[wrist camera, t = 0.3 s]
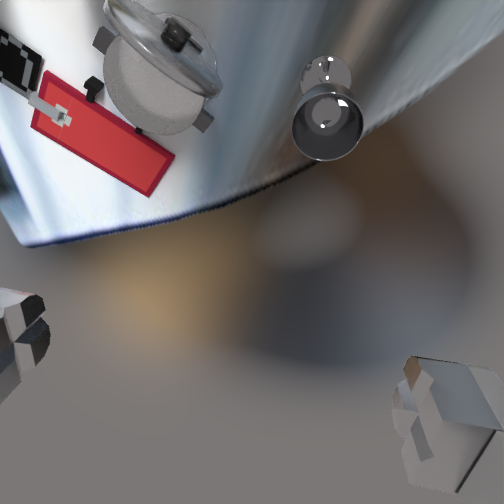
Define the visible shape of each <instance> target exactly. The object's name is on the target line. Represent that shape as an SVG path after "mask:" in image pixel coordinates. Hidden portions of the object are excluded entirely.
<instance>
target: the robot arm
mask: <svg viewBox="0 0 504 504" xmlns="http://www.w3.org/2000/svg"><path fill="white" fill-rule="evenodd" d="M45 311H46V309H45V305H44V301H43V298H42V297H40V296H38V295H37V294H32V293H27V292H21V291H16V290H11V289H5V288H0V404H1V403H2V402H3V401H4V400H5V399H6V398H7V397H8V396H9V395H10V394H11V392H12V391H13V390H14V389H15V388H16V387H17V386H18V385H19V384H20V383H21V378H22V373H23V372H25V371H27V370H29V369H31V368H33V367H35V366H36V365H37V364H38V363H39V362H40V361H41V359H42V358H43V357H44V356H45V354H46V351H47V349H48V347H49V345H50V337H51V334H50V328H49V325H48V324H47V323H46V322H45V321H44V320H43V319H42V317H41V316H42V315H43V313H44V312H45ZM403 370H404V373H405V376H406V380H404V381H402V382H401V383H399V384H397V386H396V389H395V392H394V395H393V402H392V415H393V422H394V426H395V430H396V432H397V433H398V434H399V435H400V436H401V437H402V438H403V439H404V441H405V443H404V445H403V447H402V449H401V454H402V458H403V461H404V465H405V469H406V472H407V476H408V480H409V484H410V485H414V486H419V487H424V488H429V489H433V490H437V491H442V492H447V493H451V494H456V498H457V499H458V501H459V502H460V503H461V504H504V386H503V384H502V382H501V381H500V380H499V378H498V376H497V375H496V373H495V372H494V371H493V370H492V369H491V368H489V367H488V366H482V365H475V364H468V363H457V362H450V361H444V360H437V359H431V358H425V357H418V356H410V358H408V360H407V361H406V363H405V366H404V368H403Z"/></svg>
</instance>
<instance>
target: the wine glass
mask: <svg viewBox="0 0 504 504" xmlns="http://www.w3.org/2000/svg"><path fill="white" fill-rule="evenodd" d="M350 86H351V72H350V69H349V67H348V65H347V64H346V63H345V62H344V61H343V60H342V59H341V58H339V57H336V56H333V55H324V56H320V57H318V58H316V59H314V60H312V61H311V62H310V63H309V64H308V65H307V66H306V68H305V69H304V71H303V73H302V76H301V81H300V88H301V92H302V94H303V96H302V97H301V99H300V100H299V102H298V104H297V106H296V108H295V111H294V115H293V119H292V137H293V141H294V143H295V145H296V146H297V148H298V149H299V150H300V151H301V152H302V153H303V154H304V155H306V156H307V157H309V158H311V159H314V160H318V161H331V160H336V159H339V158H341V157H343V156H345V155H346V154H348V153H349V152H350V151H352V150H353V149H354V148H355V146H356V145H357V144H358V142H359V140H360V138H361V136H362V133H363V126H364V121H363V114H362V110H361V107H360V104H359V102H358V100H357V98H356V97H355V95H354V94H353V93H352V92H351V91H350V90H349V89H350Z"/></svg>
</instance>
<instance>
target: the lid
mask: <svg viewBox="0 0 504 504" xmlns="http://www.w3.org/2000/svg"><path fill="white" fill-rule="evenodd" d="M103 10H104V13H105V15H106V17H107V19H108V20H109V22H110V23H111V25H112V26H113V27H114V29H115V30H116V31H117V32H118V33H119V34H120V36H121V37H122V38H123V39H124V40H125V41H126V42H127V43H128V44H129V45H130V46H131V47H132V48H133V49H134V50H135V51H136V52H138V53H139V54H140V55H141V56H142V57H143V58H144V59H145V60H147V61H148V62H149V63H150V64H151V65H153V66H154V67H155V68H156V69H158V70H159V71H160V72H162V73H163V74H164V75H166V76H167V77H169V78H170V79H171V80H173V81H174V82H176V83H178V84H179V85H181V86H182V87H184V88H186V89H187V90H189V91H191V92H193V93H195V94H197V95H200V96H202V97H205V98H210V99H214V98H216V97H217V95H218V94H219V93H220V91H221V90H222V88H223V85H222V82H221V80H220V78H219V76H218V75H217V73H216V72H215V71H214V69H213V68H212V67H211V65H210V64H209V63H208V62H207V61H206V60H205V58H204V57H203V56H202V55H201V54H200V53H199V52H198V51H197V50H196V49H195V48H194V47H193V46H192V45H191V44H190V43H189V42H188V41H189V39H190V37H191V36H192V33H191V32H190V30H189V29H188V28H187V27H186V26H185V25H183V24H182V23H181V22H180V21H179V20H177V19H176V18H174V17H171V18H170V20H169V22H168V23H167V24H166V23H165V22H164V21H163V20H161V19H160V18H159V17H157V16H156V15H155V14H153V13H152V12H150V11H149V10H147V9H146V8H144V7H143V6H141V5H140V4H138V3H136V2H135V1H133V0H106V1H105V3H104V5H103Z"/></svg>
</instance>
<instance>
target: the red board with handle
mask: <svg viewBox="0 0 504 504" xmlns="http://www.w3.org/2000/svg"><path fill="white" fill-rule="evenodd" d="M41 58H42V56H40V55H39V54H37V53H36V52H34V51H33V50H31V49H30V48H28V47H27V46H25V45H24V44H22V43H21V42H20V41H18V40H17V39H15V38H14V37H12V36H11V35H9V34H8V33H6V32H5V31H3V30H2V29H0V82H2V83H3V84H5V85H6V86H8V87H10V88H11V89H13V90H14V91H16V92H18V93H19V94H21V95H22V96H24V97H26V98H27V99H29V101H28V104H30V105H31V106H33V107H35V110H34V114H33V118H32V122H31V126H30V127H31V128H33V129H35V130H36V131H38V132H40V133H41V134H43V135H45V136H46V137H48V138H50V139H51V140H53V141H55V142H56V143H58V144H60V145H61V146H63V147H65V148H66V149H68V150H70V151H71V152H73V153H75V154H76V155H78V156H80V157H81V158H83V159H85V160H86V161H88V162H90V163H91V164H93V165H95V166H96V167H98V168H100V169H101V170H103V171H105V172H106V173H108V174H110V175H111V176H113V177H115V178H116V179H118V180H120V181H121V182H123V183H125V184H126V185H128V186H130V187H131V188H133V189H135V190H136V191H138V192H140V193H141V194H143V195H145V196H147V197H148V198H149V196H150V195H151V193H152V192H153V190H154V188H155V187H156V185H157V184H158V182H159V181H160V179H161V178H162V176H163V174H164V173H165V171H166V170H167V168H168V167H169V165H170V164H171V162H172V161H173V159H174V157H175V155H174V154H172V153H171V152H169V151H168V150H166V149H165V148H163V147H162V146H160V145H159V144H157V143H156V142H154V141H153V140H151V139H150V138H148V137H147V136H145V135H144V134H142V131H143V129H141V128H139V127H136V129H135V128H134V127H132V126H131V125H129V124H128V123H126V122H125V121H123V120H122V119H120V118H119V117H117V116H116V115H114V114H113V113H111V112H110V111H108V110H107V109H105V108H104V107H102V106H101V105H99V104H98V103H96V102H95V101H94V99H95V95H96V94H97V93H98V92H99V91H100V90H101V89H102V88H103V86H104V83H103V82H101V81H100V80H98V79H97V78H95V77H94V76H92V77H90V78H89V79H88V80H87V81H86V82H85V84H84V88H86V89H87V90H88V91H87V95H86V96H85V95H84V94H82V93H81V92H79V91H78V90H76V89H75V88H73V87H72V86H70V85H69V84H67V83H66V82H64V81H63V80H61V79H60V78H58V77H57V76H55V75H54V74H52V73H51V72H49V71H48V70H47V71H45V72H44V74H43V78H42V82H41V86H40V90H39V92H37V91H36V90H35V91H34V88H35V83H36V79H37V75H38V71H39V67H40V62H41ZM62 113H64V114H66V118H65V120H64V119H63V118H61V116H62Z"/></svg>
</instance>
